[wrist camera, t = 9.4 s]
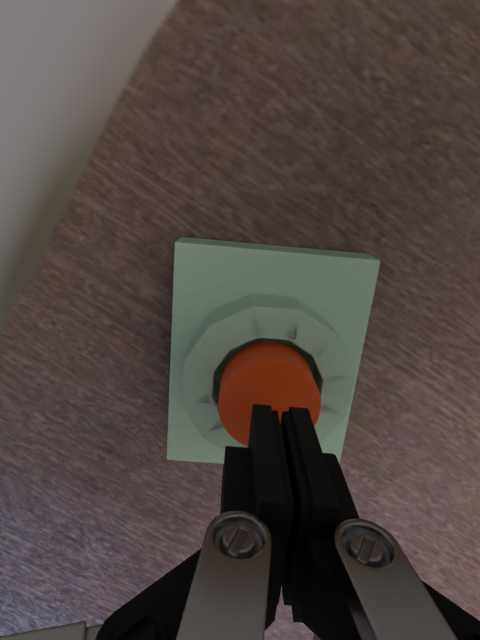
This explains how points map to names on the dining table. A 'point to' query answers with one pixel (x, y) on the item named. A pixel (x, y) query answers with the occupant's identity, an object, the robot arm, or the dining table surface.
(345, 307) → the block
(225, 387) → the button
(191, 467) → the dining table surface
